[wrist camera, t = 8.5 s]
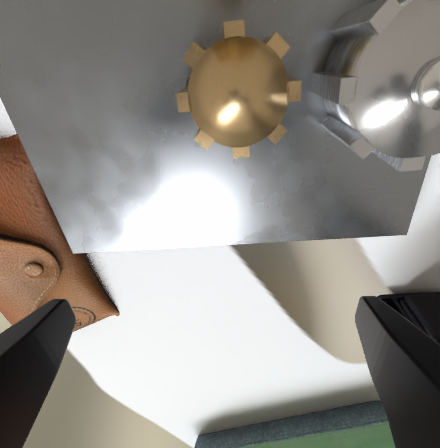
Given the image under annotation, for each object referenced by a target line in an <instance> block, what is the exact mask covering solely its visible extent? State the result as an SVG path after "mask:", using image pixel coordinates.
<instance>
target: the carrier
mask: <svg viewBox="0 0 440 448" xmlns="http://www.w3.org/2000/svg"><path fill="white" fill-rule="evenodd" d="M0 98H1V100H2V102H3V104H4V106H5V108H6V111H7V113H8V115H9V117H10V119H11V121H12V123H13V126H14V128H15V130H16V132H17V134H18V136H19V138H20V141H21V143H22V145H23V147H24V149H25V151H26V153H27V156H28V158H29V160H30V162H31V164H32V166H33V169H34V171H35V173H36V175H37V177H38V179H39V181H40V184H41V186H42V188H43V190H44V192H45V194H46V196H47V199H48V201H49V203H50V205H51V207H52V209H53V211H54V214H55V216H56V218H57V220H58V222H59V224H60V227H61V229H62V231H63V233H64V235H65V237H66V239H67V242H68V244H69V246H70V248H71V250H72V252H73V254H74V253H92V252H110V251H127V250H145V249H163V248H181V247H199V246H216V245H234V244H252V243H269V242H285V241H286V242H287V241H305V240H323V239H341V238H359V237H377V236H394V235H407V232H408V229H409V225H410V222H411V219H412V216H413V212H414V209H415V206H416V203H417V199H418V196H419V193H420V190H421V186H422V183H423V180H424V177H425V174H426V170H427V167H428V164H429V161H430V157H431V155H435V154H437V153H440V0H0Z"/></svg>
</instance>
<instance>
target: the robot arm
mask: <svg viewBox="0 0 440 448" xmlns="http://www.w3.org/2000/svg"><path fill="white" fill-rule="evenodd" d="M355 322H356V326H357V330H358V333H359V337H360V340H361V343H362V347H363V351H364V354H365V358H366V361H367V365H368V368H369V371H370V374H371V377H372V380H373V382H374V385H375V388H376V390H377V392H378V395H379V397H380V400H381V402H382V405H383V407H384V410H385V412H386V415H387V418H388V422H389V426H390V430H391V433H392V437H393V441H394V444H395V448H440V292H438V293H413V294H387V295H380V296H378V297H375V296H362V297H361V298H360V299H359V303H358V307H357V311H356V314H355ZM75 323H76V316H75V314H74V312H73V310H72V307H71V305H70V303H69V301H68V300H66V299H52V300H50V301H49V302H47V303H46V304H44V305H43V306H41V307H40V308H38V309H37V310H35V311H34V312H32V313H31V314H29V315H28V316H26V317H25V318H23V319H22V320H20V321H19V322H17V323H16V324H14V325H13V326H11V327H10V328H8V329H7V330H5V331H4V332H2V333H1V334H0V448H22V447H23V445H24V443H25V441H26V438H27V437H28V434H29V432H30V430H31V428H32V426H33V424H34V422H35V420H36V418H37V415H38V413H39V411H40V409H41V407H42V404H43V402H44V400H45V398H46V396H47V394H48V392H49V390H50V388H51V386H52V384H53V381H54V379H55V377H56V375H57V373H58V370H59V367H60V365H61V362H62V360H63V357H64V354H65V351H66V349H67V346H68V343H69V340H70V337H71V335H72V332H73V329H74V326H75Z"/></svg>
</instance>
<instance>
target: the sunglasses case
mask: <svg viewBox="0 0 440 448" xmlns="http://www.w3.org/2000/svg"><path fill="white" fill-rule="evenodd" d="M52 299H66V300H68V301H69V303H70V305H71V307H72V310H73V312H74V314H75V316H76V323H75V326H74V329H73V332H74V331H76V330H78V329H81V328H83V327H86V326H88V325H90V324H93V323H95V322H97V321H100V320H102V319H105V318H106V317H109V316H112V315H116V316H119V314H120V313H119V311H118V309H117V308H116V306H115V305H114V303H113V302H112V301H111V299H110V298H109V296H108V295H107V294H106V292H105V291H104V289H103V287H102V285H101V284H100V282H99V280H98V278H97V277H96V275H95V273H94V271H93V270H92V268H91V266H90V264H89V262H88V260H87V258H86V256H85V254H84V253H74V254H73V252H72V250H71V248H70V246H69V244H68V242H67V239H66V237H65V235H64V233H63V231H62V229H61V227H60V224H59V222H58V220H57V218H56V216H55V214H54V211H53V209H52V207H51V205H50V203H49V201H48V199H47V196H46V194H45V192H44V190H43V188H42V186H41V184H40V181H39V179H38V177H37V175H36V173H35V171H34V169H33V166H32V164H31V162H30V160H29V158H28V156H27V153H26V151H25V149H24V147H23V145H22V143H21V141H20V138H19V136H18V134H16V135H12V136H11V137H9V138H1V139H0V312H1V313H2V314H3V315H4V316H5V318H6V319H7V320H8V321H9V322H10V323H11V324H12V326H13V325H14V324H16V323H17V322H19V321H20V320H22V319H23V318H25V317H26V316H28V315H29V314H31V313H32V312H34V311H35V310H37V309H38V308H40V307H41V306H43V305H44V304H46V303H47V302H49V301H50V300H52Z"/></svg>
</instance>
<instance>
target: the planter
mask: <svg viewBox="0 0 440 448" xmlns="http://www.w3.org/2000/svg"><path fill="white" fill-rule="evenodd" d="M194 448H395V444H394V441H393V437H392V433H391V430H390V426H389V422H388V418H387V415H386V412H385V410H384V407H383V405H382V402H381V401H373V402H368V403H362V404H357V405H352V406H347V407H341V408H336V409H331V410H326V411H321V412H316V413H311V414H306V415H301V416H295V417H290V418H285V419H280V420H275V421H270V422H265V423H260V424H255V425H250V426H245V427H240V428H235V429H230V430H225V431H220V432H215V433H210V434H205V435H201V436H198V438H197V441H196V444H195V447H194Z"/></svg>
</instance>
